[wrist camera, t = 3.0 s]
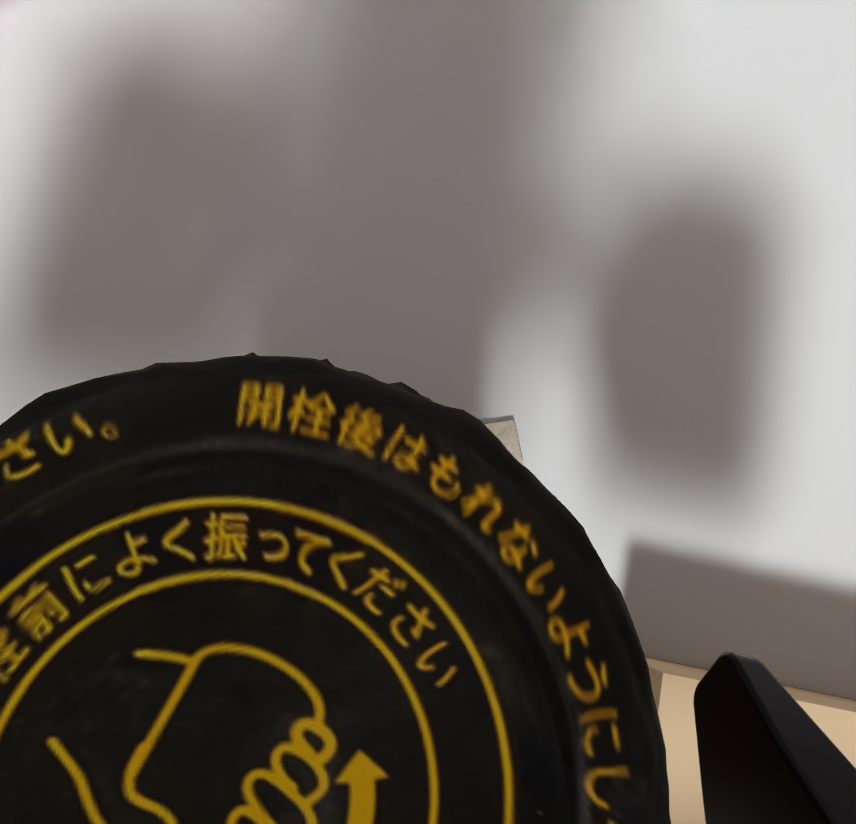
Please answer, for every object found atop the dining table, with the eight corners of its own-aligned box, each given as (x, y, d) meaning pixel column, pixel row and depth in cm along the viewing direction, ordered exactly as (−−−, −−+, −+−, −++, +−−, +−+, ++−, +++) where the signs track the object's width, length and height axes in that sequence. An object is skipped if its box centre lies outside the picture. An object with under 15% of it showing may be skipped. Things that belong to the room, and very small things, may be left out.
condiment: (165, 475, 15) (-511, 272, 3) (512, 420, 16) (905, 123, 4) (200, 808, 14) (-670, 2282, 2) (573, 724, 15) (1330, 1407, 3)
